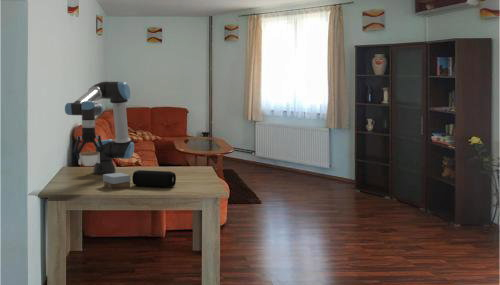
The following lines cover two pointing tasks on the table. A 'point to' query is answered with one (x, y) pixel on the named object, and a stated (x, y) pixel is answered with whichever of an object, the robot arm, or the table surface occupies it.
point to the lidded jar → (89, 158)
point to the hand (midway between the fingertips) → (89, 163)
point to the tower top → (116, 178)
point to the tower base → (117, 185)
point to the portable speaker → (154, 178)
